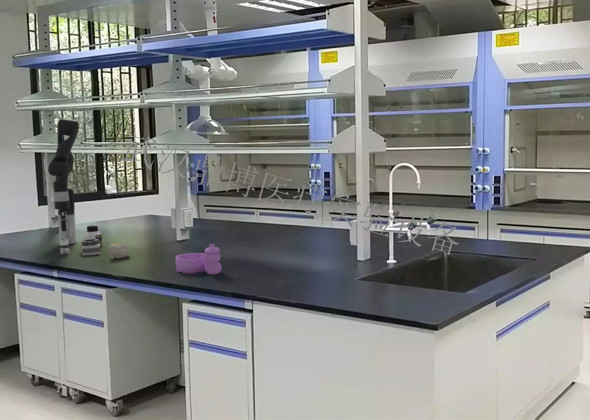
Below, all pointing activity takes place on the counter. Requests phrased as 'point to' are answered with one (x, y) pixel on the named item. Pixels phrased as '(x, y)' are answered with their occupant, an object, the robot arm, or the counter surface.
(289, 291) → the counter surface
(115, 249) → the fossil replica
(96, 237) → the medicine bottle
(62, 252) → the lens
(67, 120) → the robot arm
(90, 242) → the octagon ring plate
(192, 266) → the container set
